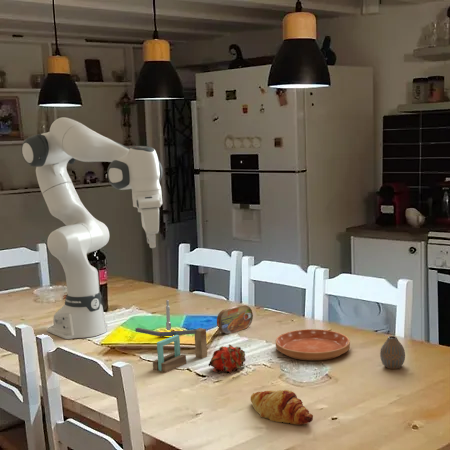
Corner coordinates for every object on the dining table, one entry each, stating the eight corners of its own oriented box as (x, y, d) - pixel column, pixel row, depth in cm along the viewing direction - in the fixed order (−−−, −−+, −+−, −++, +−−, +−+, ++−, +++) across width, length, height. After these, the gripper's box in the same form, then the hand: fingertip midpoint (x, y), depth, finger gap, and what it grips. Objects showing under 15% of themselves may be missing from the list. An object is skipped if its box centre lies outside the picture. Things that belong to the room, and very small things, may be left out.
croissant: (244, 419, 175) (231, 396, 172) (268, 391, 180) (256, 369, 177) (305, 444, 159) (292, 420, 156) (330, 413, 164) (318, 389, 161)
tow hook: (163, 331, 244) (156, 338, 235) (161, 295, 243) (154, 300, 234) (186, 331, 243) (180, 338, 234) (184, 295, 242) (179, 300, 233)
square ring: (158, 370, 200) (156, 342, 199) (177, 361, 207) (176, 334, 206) (161, 371, 200) (159, 343, 198) (180, 362, 206) (179, 335, 205)
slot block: (153, 372, 201) (152, 361, 201) (174, 363, 208) (173, 352, 208) (165, 376, 198) (165, 364, 198) (186, 366, 205) (185, 355, 205)
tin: (221, 336, 233) (220, 312, 232) (215, 334, 236) (214, 310, 235) (254, 326, 243) (253, 303, 242) (247, 324, 246) (246, 301, 244)
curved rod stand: (137, 358, 215) (135, 328, 214) (162, 347, 224) (161, 319, 223) (188, 370, 202) (186, 338, 201) (213, 358, 211) (211, 328, 210)
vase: (406, 363, 200) (405, 334, 198) (404, 371, 193) (403, 341, 192) (381, 361, 202) (381, 332, 201) (379, 370, 195) (378, 340, 194)
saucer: (364, 348, 215) (364, 336, 215) (321, 369, 199) (321, 356, 198) (305, 335, 231) (304, 325, 230) (260, 354, 214) (260, 342, 214)
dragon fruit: (250, 373, 201) (213, 387, 197) (236, 351, 207) (200, 364, 202) (254, 356, 196) (216, 370, 191) (240, 334, 201) (203, 347, 196)
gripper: (135, 198, 217) (139, 242, 219) (138, 203, 197) (143, 251, 199) (155, 196, 218) (159, 240, 220) (160, 201, 198) (165, 249, 200)
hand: (151, 245), depth 209 cm, fingers open, 8 cm apart
